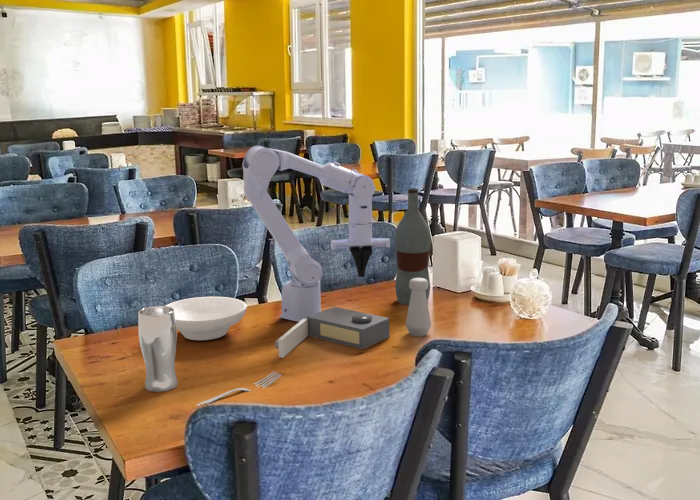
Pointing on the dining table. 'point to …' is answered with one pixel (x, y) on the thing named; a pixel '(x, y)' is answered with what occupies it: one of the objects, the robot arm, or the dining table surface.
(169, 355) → the beer glass
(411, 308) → the salt shaker
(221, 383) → the dining table surface
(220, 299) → the bowl
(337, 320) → the camera housing
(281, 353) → the door
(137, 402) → the dining table surface
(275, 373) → the fork
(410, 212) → the bottle
